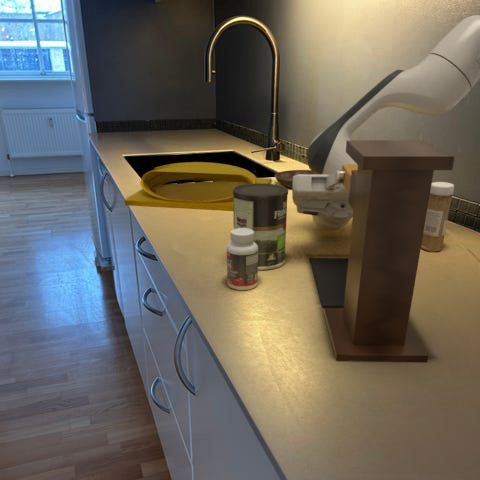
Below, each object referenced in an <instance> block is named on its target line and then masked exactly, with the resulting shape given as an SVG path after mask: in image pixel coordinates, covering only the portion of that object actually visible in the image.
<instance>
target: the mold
mask: <svg viewBox="0 0 480 480" xmlns="http://www.w3.org/2000/svg"><path fill="white" fill-rule="evenodd" d="M176 181H200V182H201V181H202V182H225V183H245V184H256V183H265V184H272V178H271V177H270V178H269V177H265V178H264V177H257V176H256V175H255V174H253V172H251V171H249V170H248V169H245V168H242V167H239V166H237V165H236V166H235V165H231V164H226V163H219V162H208V161H207V162H206V161H205V162H204V161H191V162H189V161H188V162H187V161H185V162H175V163H169V164H164V165H160V166H156V167H155V168H154V169H151V170H149V171H147V172H145V173H143V175H142V177H141V180H140V182H139V183H140V184H139V185H140V187H141V189H140V190H139V191H138V192H136V193H134V194H133V195H131V196H129V197H127V198H126V199H125V200H124V205H125V206H134V207H135V206H136V207H154V208H155V207H156V208H172V209H173V208H175V209H190V210H191V209H192V210H193V209H195V210H210V211H212V210H213V211H231V212H232V211H233V195H229V196H226V197H219V198H213V199H202V200H201V199H199V200H196V199H195V200H194V199H193V200H192V199H189V200H187V199H178V198H171V197H167V196H162V195H159V194H157V193H155V191H156V190H157V189H159V188H161V187H162V186H164V185H165V184H167V183H171V182H176Z"/></svg>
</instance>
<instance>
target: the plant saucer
mask: <svg viewBox="0 0 480 480" xmlns="http://www.w3.org/2000/svg"><path fill="white" fill-rule="evenodd" d="M298 174H316V173H315V172H314V171H312V170H311V169H291V170H290V169H289V170H282V171H279V172H276V173H275V174H274V177H275V179H276V181H277V182H278V183H279V184H280V186H284V187H286V188H288V189H289V188H290V189H292V182H293V176H294V175H298Z"/></svg>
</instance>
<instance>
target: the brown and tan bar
mask: <svg viewBox="0 0 480 480" xmlns="http://www.w3.org/2000/svg"><path fill="white" fill-rule="evenodd" d="M357 170H358V165H342V171H345V181H344V183H342V184H343V185H344V187H345V189H346V190H347V192H348V193H349V204H350V206H351V208H352V209H354V199H355V189H356V179H357Z"/></svg>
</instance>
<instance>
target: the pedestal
mask: <svg viewBox="0 0 480 480" xmlns="http://www.w3.org/2000/svg"><path fill="white" fill-rule="evenodd" d="M346 153H347V154H348V155H349V156H350V157H351V158H352V159H353V160H354V161H355V163H356V164H357V165H358V170H357V179H356V189H355V199H354V209H353V217H352V219H351V229H350V239H349V249H348V258H349V259H348V269H347V279H346V288H345V298H344V308H323V316H324V320H325V323H326V327H327V331H328V335H329V340H330V342H331V346H332V351H333V354H334V358H335V361H337V362H338V361H339V362H401V363H402V362H404V363H405V362H407V363H408V362H409V363H411V362H412V363H428V360H429V353H428V352H427V350H426V349H425V348H426V347H424V344H423V343H422V342H421V340H420V338H419V336H418V335H417V333H416V331H415V329H414V328H413V326H412V324H411V323H410V321H409V320H410V316H411V315H410V314H411V309H412V304H413V303H412V302H413V297H414V291H415V285H416V279H417V274H418V267H419V261H420V256H421V255H420V254H421V249H422V248H421V244H422V238H423V232H424V226H425V220H426V214H427V208H428V202H429V196H430V190H431V184H432V183H433V177H434V172H435V171H453V168H454V162H455V158H456V157H455V156H454V155H453V154H451V153H449V152H447V151H445V150H442V149H441V148H439V147H437V146H434V145H433V144H431V143H429V142H427V141H425V140H398V139H397V140H393V139H392V140H388V139H387V140H386V139H385V140H384V139H383V140H382V139H381V140H379V139H378V140H374V139H373V140H367V139H366V140H359V139H357V140H354V139H352V140H347V142H346Z"/></svg>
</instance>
